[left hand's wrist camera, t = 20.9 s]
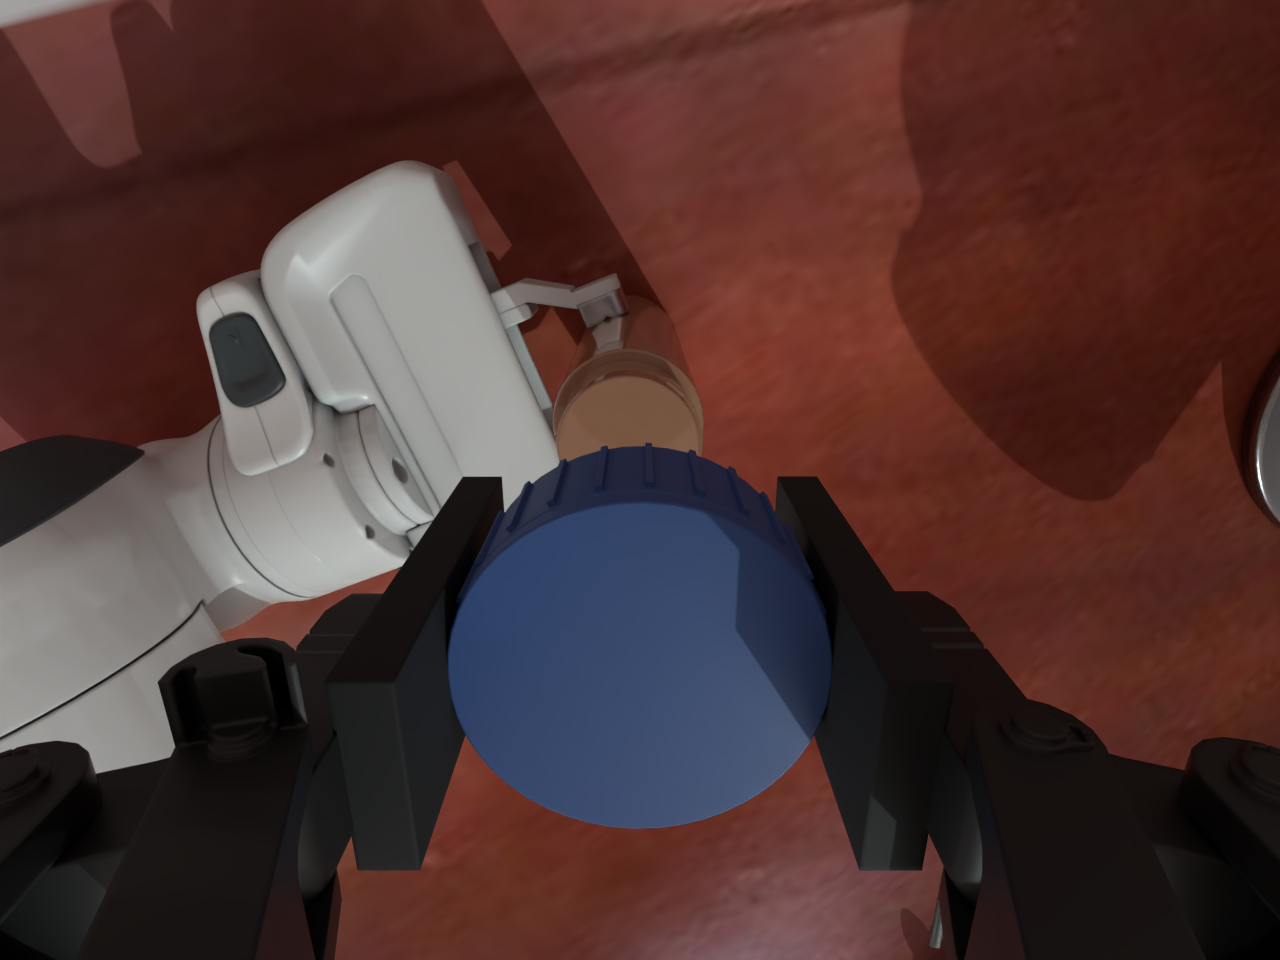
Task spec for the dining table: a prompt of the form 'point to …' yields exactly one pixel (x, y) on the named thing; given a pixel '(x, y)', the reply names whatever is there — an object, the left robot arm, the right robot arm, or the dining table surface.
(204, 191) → the dining table surface
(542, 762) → the lid
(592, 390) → the jar
